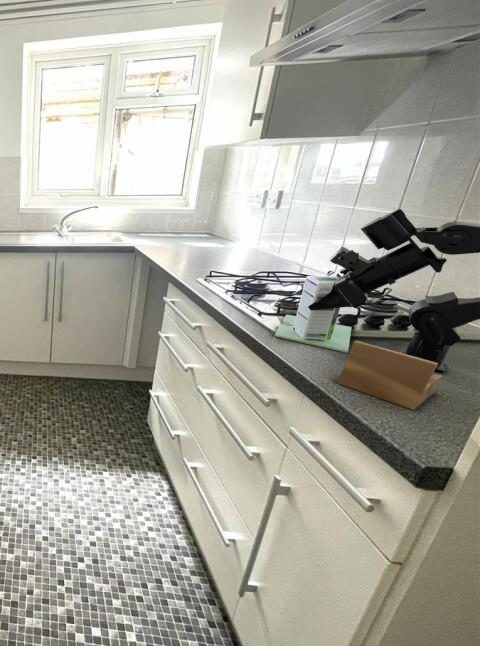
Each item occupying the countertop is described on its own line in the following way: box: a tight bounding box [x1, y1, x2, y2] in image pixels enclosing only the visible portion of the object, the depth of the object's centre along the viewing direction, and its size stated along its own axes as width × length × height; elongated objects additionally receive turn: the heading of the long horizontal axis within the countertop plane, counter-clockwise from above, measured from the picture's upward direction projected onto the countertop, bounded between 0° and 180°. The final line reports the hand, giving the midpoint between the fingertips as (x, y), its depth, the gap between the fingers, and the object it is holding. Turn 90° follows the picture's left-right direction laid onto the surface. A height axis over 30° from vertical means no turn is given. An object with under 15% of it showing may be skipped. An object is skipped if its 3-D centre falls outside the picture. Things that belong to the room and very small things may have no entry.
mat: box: [273, 314, 352, 354], centre depth 106 cm, size 20×14×1 cm
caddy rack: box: [337, 340, 442, 411], centre depth 78 cm, size 10×11×9 cm
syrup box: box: [294, 274, 342, 340], centre depth 99 cm, size 6×6×14 cm
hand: (310, 304), depth 100 cm, fingers closed on syrup box, 7 cm apart
